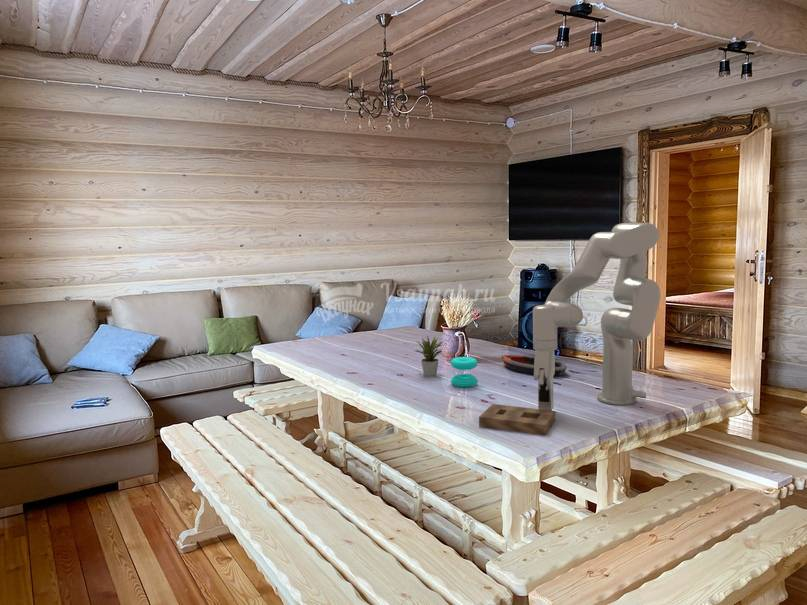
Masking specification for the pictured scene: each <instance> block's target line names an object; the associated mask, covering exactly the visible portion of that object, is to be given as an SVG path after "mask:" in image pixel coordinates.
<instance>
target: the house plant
mask: <svg viewBox="0 0 807 605" xmlns="http://www.w3.org/2000/svg"><path fill="white" fill-rule="evenodd" d="M426 338H427V339H426V340H425V339H424V338H423V337H421V340H422V342H421V343H420V342H419V341H416V343H417V344H418V345H419V346H420V347H421V349H422V350H421V351H420V350H415V351H413V352H415V353H420V354H422V355H423V357H424V358H422V359H421V367H422V371H423V376H425V377H436V376H437V373H438V368H439V359H438V358H436V357H437V356H438V355H439V354H441V355H443V356H444V353H443V348H441V349H438V348H440V347H441V346H445V345H446V344H444V343H446V341H447V339H445V340H442V341H439V342H438V339H439V337H436V336H434V337H433V338H432V341H430V339H429V336H428V335H426Z"/></svg>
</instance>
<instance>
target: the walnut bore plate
mask: <svg viewBox="0 0 807 605" xmlns="http://www.w3.org/2000/svg"><path fill="white" fill-rule="evenodd" d="M555 422H556V411H555V410H552V411H551V410H542V409H538V408H531V407H524V406H523V407H522V406H515V405H514V406H513V405H505V404H496V403H492V404H491V405H490V406H489V407H488V408H486V409H485V411H483V412H482V413H481V414H480V415H479V416H478V427H480V428H490V429H495V430H504V431H512V432H518V433H520V432H521V433H526V434H527V433H528V434H533V435H541V436H546V435H547V433H548V432H549V430H550V429H551V428H552V426H553V424H554V423H555Z"/></svg>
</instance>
